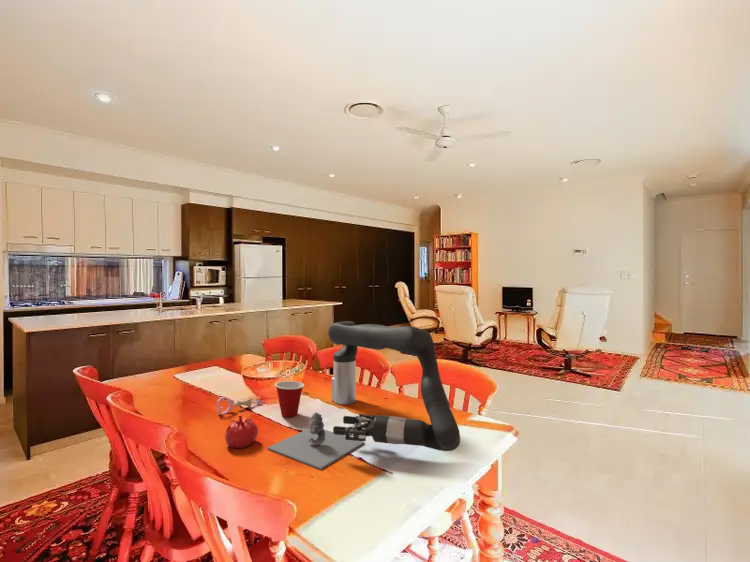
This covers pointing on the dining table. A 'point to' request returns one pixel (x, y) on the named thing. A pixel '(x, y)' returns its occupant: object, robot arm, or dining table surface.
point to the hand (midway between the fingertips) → (338, 424)
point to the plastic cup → (289, 397)
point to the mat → (315, 448)
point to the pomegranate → (241, 433)
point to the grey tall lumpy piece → (317, 429)
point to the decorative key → (247, 403)
